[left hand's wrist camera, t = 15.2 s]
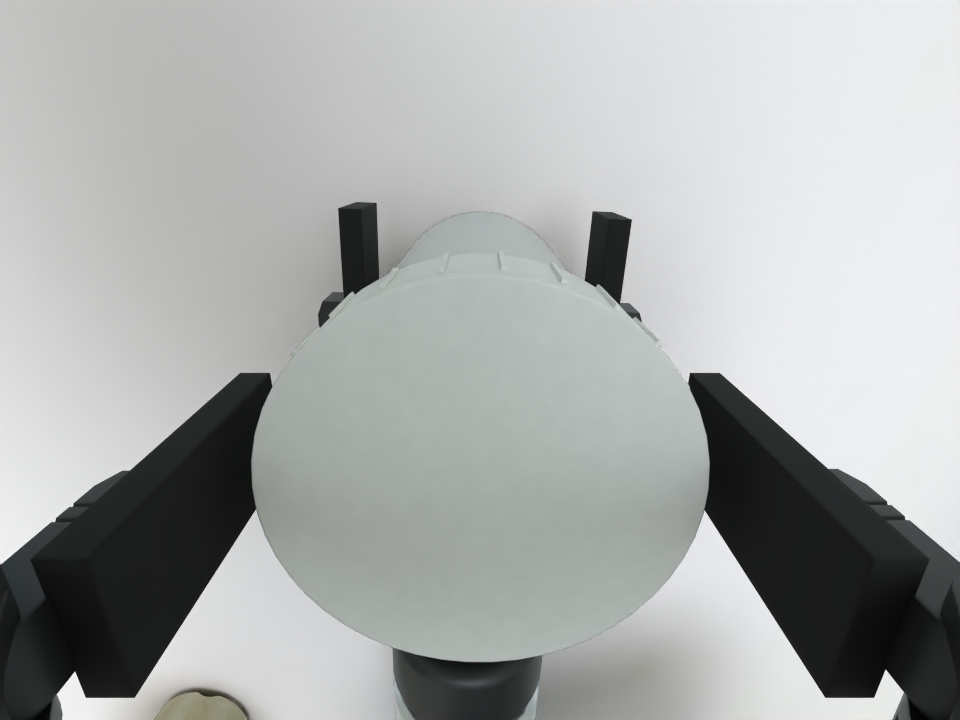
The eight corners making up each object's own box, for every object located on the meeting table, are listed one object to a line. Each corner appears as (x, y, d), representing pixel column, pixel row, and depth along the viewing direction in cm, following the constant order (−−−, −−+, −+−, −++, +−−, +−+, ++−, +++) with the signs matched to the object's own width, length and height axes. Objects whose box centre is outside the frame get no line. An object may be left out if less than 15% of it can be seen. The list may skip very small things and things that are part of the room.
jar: (399, 205, 24) (271, 274, 9) (573, 218, 24) (717, 308, 10) (396, 366, 27) (296, 614, 12) (551, 377, 27) (635, 633, 13)
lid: (255, 539, 13) (215, 608, 11) (338, 185, 10) (301, 191, 8) (580, 625, 15) (597, 702, 12) (746, 329, 11) (806, 367, 9)
